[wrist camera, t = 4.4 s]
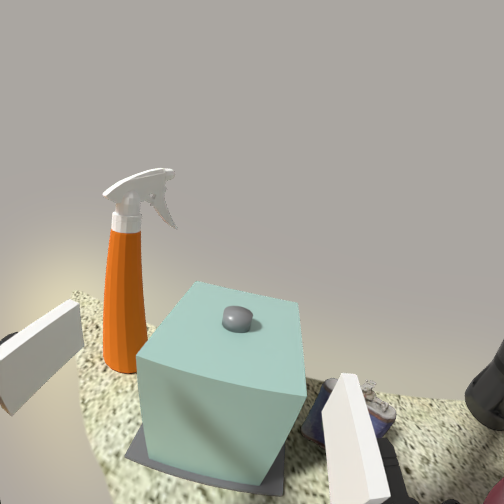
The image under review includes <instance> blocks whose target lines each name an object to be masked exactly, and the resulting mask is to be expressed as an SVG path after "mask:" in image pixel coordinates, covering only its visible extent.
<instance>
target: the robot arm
mask: <svg viewBox="0 0 504 504" xmlns="http://www.w3.org/2000/svg"><path fill="white" fill-rule="evenodd" d="M83 347H84V340H83V333H82V325H81V316H80V305H79V303H77V302H75V301H73V300H70V299H68V300H67V301H65V302H64V303H62V304H61V305H59V306H57V307H56V308H54V309H53V310H51V311H50V312H48V313H47V314H45V315H44V316H42V317H41V318H39V319H38V320H36V321H35V322H33V323H32V324H30V325H29V326H27V327H26V328H24V329H23V330H21V331H20V332H15V333H13V334H9V335H7V336H6V337H4V338H3V339H2V340H1V341H0V405H1V407H2V408H3V409H4V410H5V411H6V412H7V413H8V414H9V415H11V416H13V415H14V414H15V413H16V412H17V411H18V410H19V409H20V408H21V407H22V406H23V404H24V403H26V402H27V401H28V400H29V398H31V397H32V396H33V394H35V393H36V392H37V390H39V389H40V388H41V386H43V384H45V383H46V382H47V381H48V380H49V379H50V378H51V377H52V376H53V375H54V374H55V373H56V372H57V371H58V370H59V369H60V368H61V367H62V366H63V365H65V364H66V363H67V362H68V361H69V360H70V359H71V358H72V357H73V356H74V355H75V354H76V353H77V352H78V351H79V350H81V349H82V348H83ZM465 400H466V403H467V406H468V408H469V410H470V411H471V413H472V414H473V415H474V416H475V417H476V418H477V419H478V420H479V421H480V422H481V423H483V424H484V425H486V426H487V427H489V428H492V429H495V430H504V340H503V342H502V344H501V346H500V347H499V350H498V351H497V353H496V355H495V357H494V359H493V360H492V362H491V363H490V364H489V365H488V366H487V367H486V368H485V369H484V370H483V371H482V372H480V373H479V374H478V375H477V376H476V377H475V378H474V379H473V380H472V382H471V383H470V385H469V386H468V388H467V389H466V392H465ZM322 420H323V429H324V437H325V447H326V456H327V467H328V478H329V490H330V504H419V503H418V501H416V500H415V499H413V498H410V497H409V496H408V494H407V491H406V487H405V484H404V480H403V476H402V473H401V470H400V466H398V465H399V463H398V460H397V458H396V457H397V456H396V453H395V450H394V447H393V445H392V444H391V443H390V442H389V440H388V439H387V438H376V436H375V432H374V429H373V426H372V422H371V419H370V415H369V412H368V409H367V406H366V402H365V399H364V396H363V393H362V390H361V387H360V384H359V381H358V377H357V374H348V373H341V375H340V377H339V379H338V381H337V383H336V385H335V387H334V389H333V391H332V393H331V395H330V397H329V399H328V401H327V403H326V404H325V406H324V408H323V410H322ZM0 504H1V502H0ZM442 504H460V503H459V502H458V501H457V500H454V499H450V500H447V501H445V502H443V503H442Z"/></svg>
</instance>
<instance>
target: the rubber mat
mask: <svg viewBox="0 0 504 504" xmlns="http://www.w3.org/2000/svg"><path fill="white" fill-rule="evenodd" d="M125 458H127V459H129V460H132V461H134V462H137V463H139V464H142V465H144V466H147V467H150V468H152V469H155V470H158V471H161V472H164V473H167V474H170V475H173V476H176V477H179V478H183V479H186V480H190V481H194V482H197V483H201V484H205V485H210V486H214V487H219V488H224V489H229V490H234V491H240V492H247V493H254V494H262V495H271V496H282V495H283V481H284V458H285V442H284V444H283V446H282V448H281V450H280V451H279V453H278V455H277V457H276V459H275V460H274V462H273V464H272V466H271V467H270V469H269V471H268V472H267V474H266V476H265V478H264V479H263V481H262V482H261V484H260V486H257V485H249V484H243V483H237V482H232V481H226V480H221V479H217V478H212V477H208V476H204V475H200V474H196V473H192V472H189V471H185V470H182V469H178V468H175V467H172V466H169V465H166V464H163V463H160V462H157V461H154V460H152V459H149V456H148V451H147V446H146V440H145V434H144V428H143V423H142V425H141V427H140V428H139V430H138V432H137V434H136V436H135V437H134V439H133V441H132V443H131V445H130V447H129V448H128V450H127V452H126V454H125Z"/></svg>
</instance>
